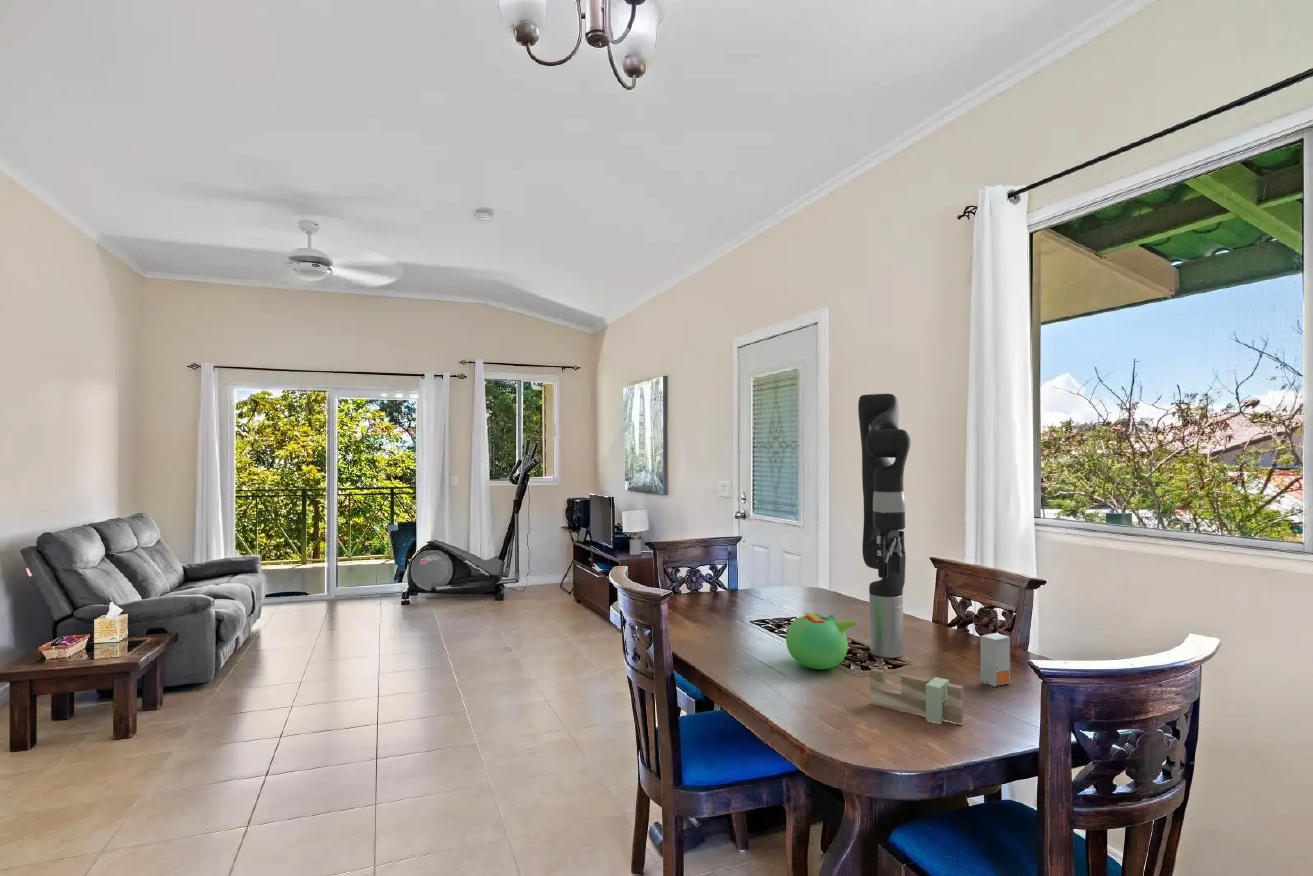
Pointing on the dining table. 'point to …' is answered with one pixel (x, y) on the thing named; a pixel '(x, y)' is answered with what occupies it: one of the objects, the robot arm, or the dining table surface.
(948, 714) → the maple board
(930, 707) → the notched block
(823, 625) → the toy bird
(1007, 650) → the skincare box
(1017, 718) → the dining table surface
